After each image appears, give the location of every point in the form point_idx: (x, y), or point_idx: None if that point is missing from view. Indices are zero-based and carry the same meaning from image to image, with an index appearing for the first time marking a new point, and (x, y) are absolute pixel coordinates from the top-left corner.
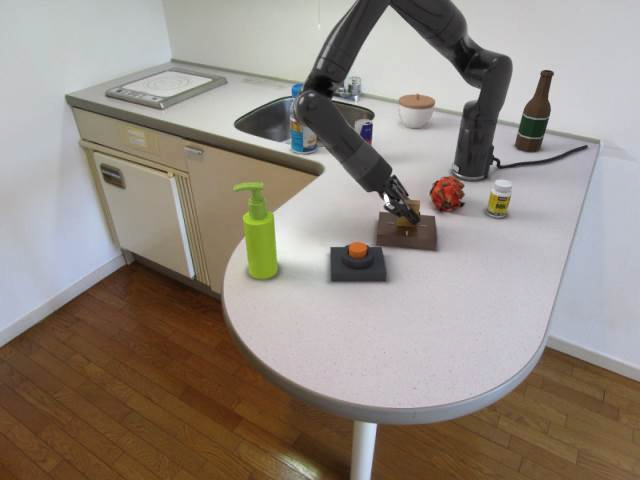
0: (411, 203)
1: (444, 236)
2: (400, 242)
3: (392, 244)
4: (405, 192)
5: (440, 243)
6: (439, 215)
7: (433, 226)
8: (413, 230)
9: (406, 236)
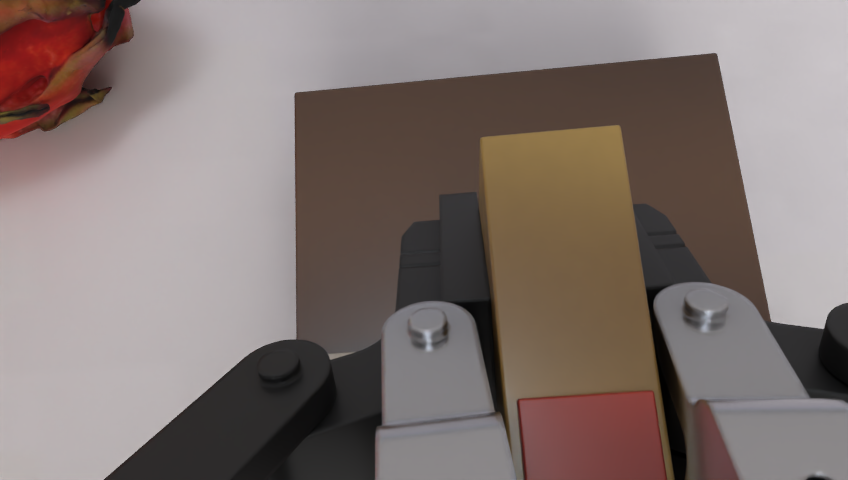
0: (638, 268)
1: (449, 56)
2: None
3: None
4: (289, 408)
5: None
6: (141, 105)
7: (495, 94)
8: None
9: None
